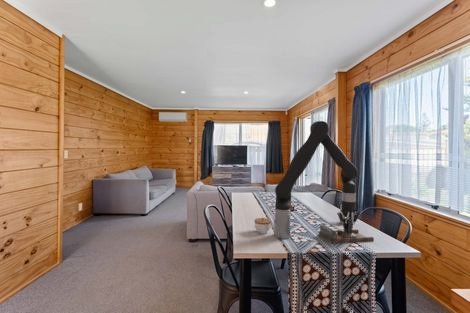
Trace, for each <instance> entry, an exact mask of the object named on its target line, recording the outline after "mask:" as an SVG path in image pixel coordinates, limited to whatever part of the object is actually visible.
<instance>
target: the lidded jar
mask: <svg viewBox="0 0 470 313" xmlns="http://www.w3.org/2000/svg"><path fill="white" fill-rule="evenodd" d="M271 226H272V220H271V219H269V218H267V217H266V218H264V217H258V218H255V219H254V228H255V230H256V231H257V233H258V234H262V235H265V234H268V232H269V231H270V229H271V228H272V227H271Z"/></svg>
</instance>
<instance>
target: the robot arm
mask: <svg viewBox="0 0 470 313" xmlns="http://www.w3.org/2000/svg"><path fill="white" fill-rule="evenodd" d="M309 127H310V133H309V136H308V137H307V138H306V141H305V142H304V143H303V144H302V146H300V148H298V150H297V151H296V153H295V155H294V156H293V158H292V160H291V161H290V163H289V164H288V168H287V170H286V172H285V175H283V177H282V178H281V180H280V182H279V183H278V184H277V185H275V189H274V193H275V205H274V208H275V211H274V214H275V215H274V218H275V219H273V235H274V237H275V238H276V239H282V240H284V239H285V240H286V239H290V238H291V215H292V214H291V212H292V211H291V210H292V208H291V207H292V206H291V205H292V190H293V188H294V185H295V184H296V182H297V181H298V179H299V178H300V176H301V175H302V174H303V172H304V171H305V170H306V168H307V167H308V166H309V164H310V162H311V160H312V158H313V157H314V155H315V153H316V151H317V150H318V147H319V145H322V146H323V148H324V149H325V150H326V152H327V154H328V155H329V157H330V158H331V159H332V161H333V162H334V163H335V164H336V166H337V167H339V168H340V169H341V170H340V179H341V182H342V183H341V184H342V190H341V191H342V192H341V205H342V210H341V212H340V211H338V212H337V214H336V215H337V216H338V219H339V222H340V221H341V222H340V223H342V222H343V223H342V226H343V229H346V230H347V221H348V218H349V219H352V229H353V228H354V224H353V222H355V223H356V222H357V220H358V218H359V216H360V212H358V211H356V202H357V198H356V197H357V196H356V193H357V192H356V190H357V188H356V183H355V182H354V181H353V180H354V179H356V178H358V177H359V171H358V168H357V167H356V166H355V164H353V163H352V162H351V161H350V159H348V157H347V156H346V155H345V152H344V151H343V150H342V149H341V148H340V147H339V145H338V144H337V143H336V142H335V141H334V140H333V139H332V137H331V136H330V134H329V131H330V126H329V123H328V122H327V121H323V120H318V121H314V122H313V123H312V124H311V125H310V126H309ZM342 214H343V215H342ZM353 215H354V216H353Z"/></svg>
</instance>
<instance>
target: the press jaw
mask: <svg viewBox="0 0 470 313" xmlns="http://www.w3.org/2000/svg"><path fill="white" fill-rule="evenodd" d="M338 230H339V234H340V235H341V236H343V237H345V238H357V235H355V234H354V233H352V230H353V228H352V219H349V218H348V221H347V230H346V229H344V228H343V229H342V228H341V229H338Z"/></svg>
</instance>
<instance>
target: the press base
mask: <svg viewBox="0 0 470 313" xmlns="http://www.w3.org/2000/svg"><path fill="white" fill-rule="evenodd" d="M336 232H337V233H338V236H337V239H336ZM352 233H354V234H355V235H357V238H345V237H343V236H341V235H340V234H339V229H338V230H337V229H336V230H334V229H333V228H331V227H328V226H327V225H325V224H324V225H322V224H321V225H319V231H318V235H319V236H320V237H322V238H323V239H324V240H326V241H327V242H329V243H330V244H343V243H345V244H346V243H361V242H362V243H363V242H364V243H365V242H374V239H375V238H374V237H373V236H365V235H363V234H360V233H359V229H357V228H356V229H352Z"/></svg>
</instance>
